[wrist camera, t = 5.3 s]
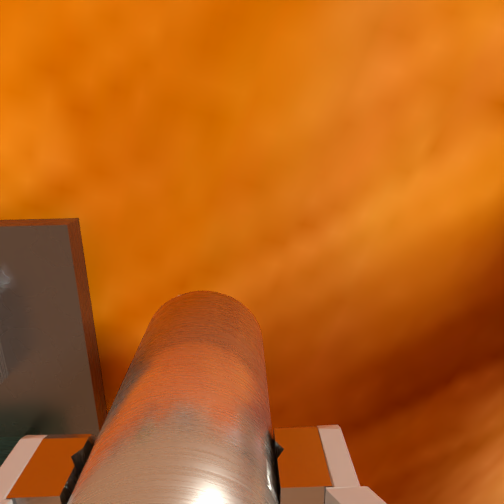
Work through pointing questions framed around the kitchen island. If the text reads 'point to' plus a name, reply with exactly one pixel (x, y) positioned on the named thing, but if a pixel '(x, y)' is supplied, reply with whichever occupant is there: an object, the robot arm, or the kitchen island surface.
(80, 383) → the manifold plate
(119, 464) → the fitting
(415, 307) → the kitchen island surface
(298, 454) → the robot arm
